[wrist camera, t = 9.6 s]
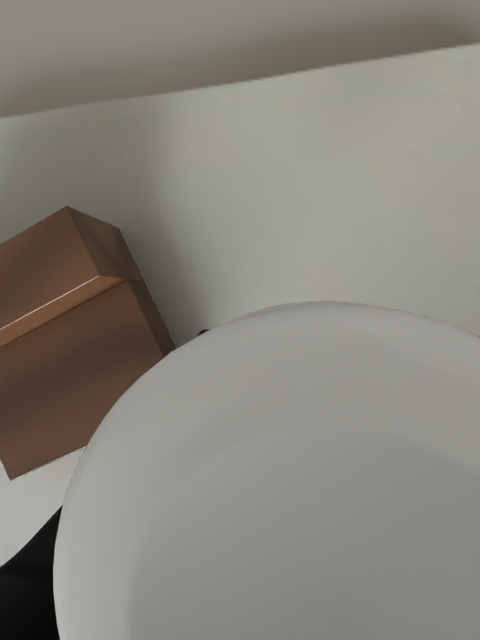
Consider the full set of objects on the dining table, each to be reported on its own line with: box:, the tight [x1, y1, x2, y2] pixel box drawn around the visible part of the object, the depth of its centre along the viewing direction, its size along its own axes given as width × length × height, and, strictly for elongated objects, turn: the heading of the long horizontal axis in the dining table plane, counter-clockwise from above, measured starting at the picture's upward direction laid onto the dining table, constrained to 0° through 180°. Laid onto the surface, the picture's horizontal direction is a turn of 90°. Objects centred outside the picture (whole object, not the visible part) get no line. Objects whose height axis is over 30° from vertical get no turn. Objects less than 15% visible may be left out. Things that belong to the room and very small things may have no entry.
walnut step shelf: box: [0, 206, 176, 481], centre depth 22 cm, size 12×13×6 cm
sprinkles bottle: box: [53, 301, 480, 640], centre depth 9 cm, size 5×5×14 cm
